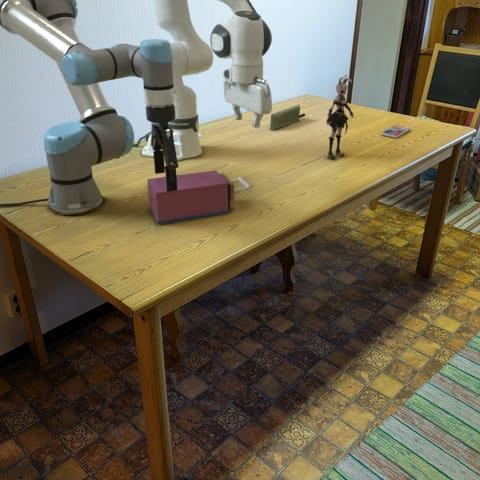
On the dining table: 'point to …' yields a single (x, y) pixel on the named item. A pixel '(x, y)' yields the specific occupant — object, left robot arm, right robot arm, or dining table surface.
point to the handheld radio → (285, 117)
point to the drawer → (231, 189)
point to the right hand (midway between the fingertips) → (247, 123)
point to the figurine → (338, 116)
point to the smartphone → (395, 131)
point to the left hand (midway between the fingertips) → (165, 181)
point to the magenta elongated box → (188, 197)
